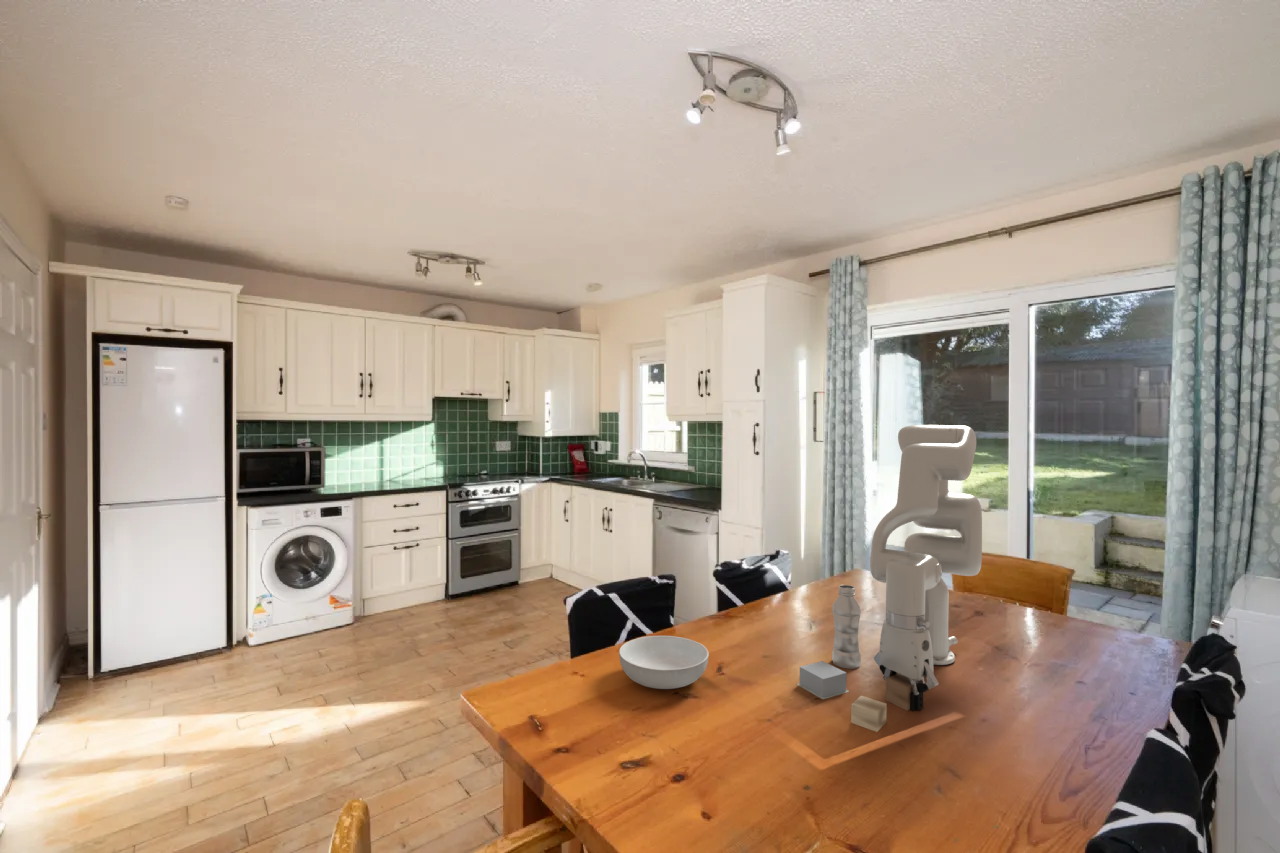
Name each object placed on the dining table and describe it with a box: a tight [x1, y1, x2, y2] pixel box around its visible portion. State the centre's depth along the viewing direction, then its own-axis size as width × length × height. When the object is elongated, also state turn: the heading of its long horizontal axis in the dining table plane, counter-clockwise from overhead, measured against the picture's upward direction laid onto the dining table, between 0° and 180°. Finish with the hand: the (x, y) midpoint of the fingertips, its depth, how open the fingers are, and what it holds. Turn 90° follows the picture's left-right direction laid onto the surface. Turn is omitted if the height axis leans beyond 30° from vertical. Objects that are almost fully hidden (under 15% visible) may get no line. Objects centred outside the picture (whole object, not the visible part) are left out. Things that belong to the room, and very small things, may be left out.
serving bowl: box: [618, 635, 710, 690], centre depth 134 cm, size 21×21×7 cm
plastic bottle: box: [831, 584, 862, 670], centre depth 141 cm, size 6×7×20 cm
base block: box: [799, 660, 848, 698], centre depth 128 cm, size 7×7×4 cm
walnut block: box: [885, 673, 919, 711], centre depth 121 cm, size 5×5×6 cm
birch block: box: [850, 695, 888, 733], centre depth 113 cm, size 5×5×5 cm
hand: (904, 704), depth 122 cm, fingers closed on walnut block, 5 cm apart
